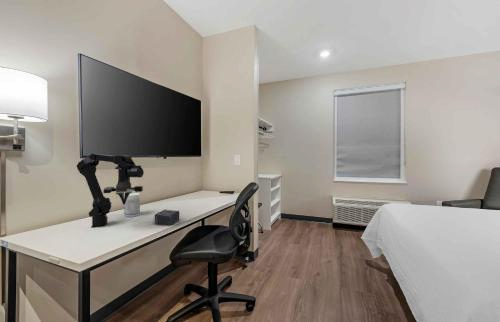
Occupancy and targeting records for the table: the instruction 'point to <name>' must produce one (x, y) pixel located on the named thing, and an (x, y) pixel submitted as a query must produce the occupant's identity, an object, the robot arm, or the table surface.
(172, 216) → the small box
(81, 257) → the table surface
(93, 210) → the robot arm
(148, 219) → the table surface
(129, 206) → the supplement tub
